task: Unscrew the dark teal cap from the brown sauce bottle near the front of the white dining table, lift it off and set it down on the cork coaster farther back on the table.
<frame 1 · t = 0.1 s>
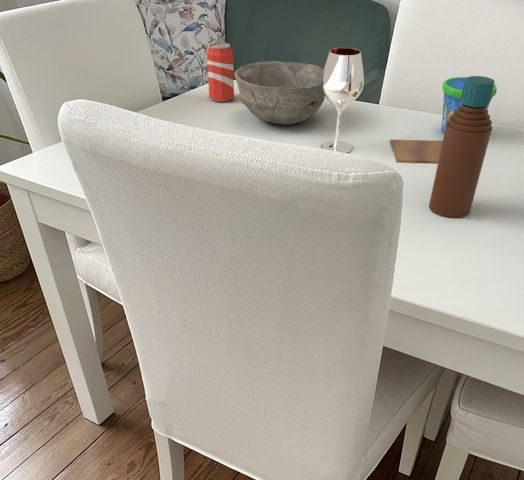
cap: (479, 82, 84), point 20 cm above the table, screwed on, not yet turned
wineglass: (336, 148, 117), on the table
coaster: (420, 151, 116), on the table
bottle: (449, 208, 97), on the table
bowl: (280, 120, 130), on the table
snack cup: (458, 134, 124), on the table
beverage can: (221, 99, 141), on the table
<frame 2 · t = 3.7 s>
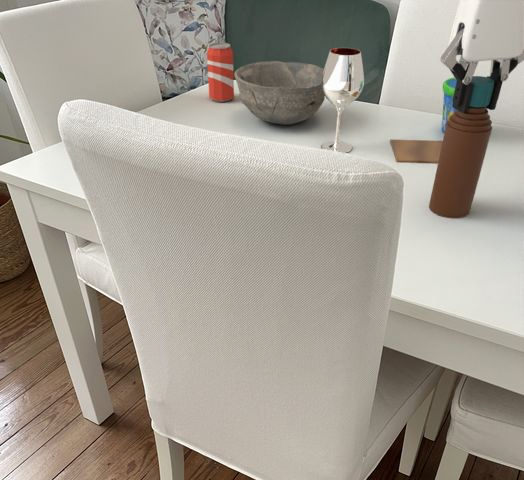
hand: (473, 107, 86), 17 cm above the table, tool pointing down, fingers closed on cap, 4 cm apart
cap: (479, 82, 84), point 20 cm above the table, screwed on, not yet turned, touching gripper
everything else where it was.
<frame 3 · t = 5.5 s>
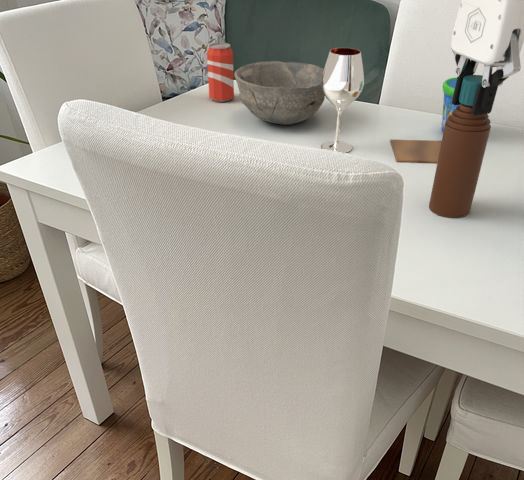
hand: (470, 107, 86), 17 cm above the table, tool pointing down, fingers closed on cap, 4 cm apart
cap: (477, 81, 84), point 20 cm above the table, turned 95° so far, risen 0.1 cm, still on its thread, touching gripper
everything else where it was.
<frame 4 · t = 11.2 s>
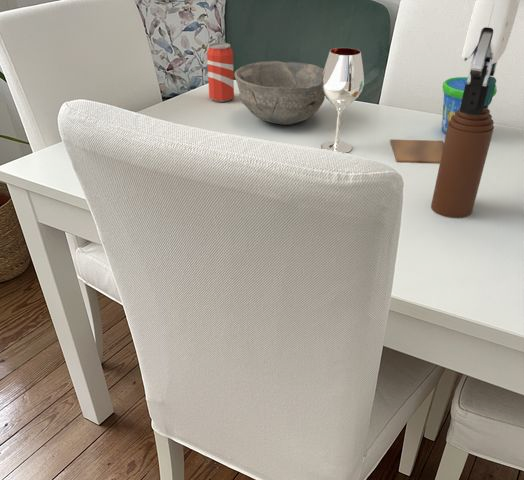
hand: (473, 107, 86), 17 cm above the table, tool pointing down, fingers closed on cap, 4 cm apart
cap: (481, 81, 83), point 20 cm above the table, turned 141° so far, risen 0.1 cm, still on its thread, touching gripper
everything else where it was.
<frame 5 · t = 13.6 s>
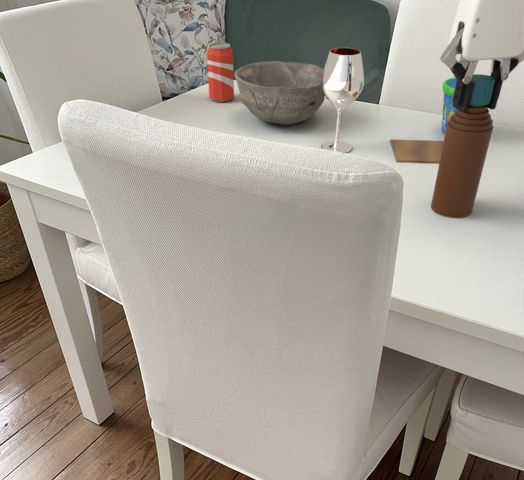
hand: (473, 106, 86), 17 cm above the table, tool pointing down, fingers closed on cap, 4 cm apart
cap: (479, 81, 83), point 20 cm above the table, turned 188° so far, risen 0.2 cm, still on its thread, touching gripper
everything else where it was.
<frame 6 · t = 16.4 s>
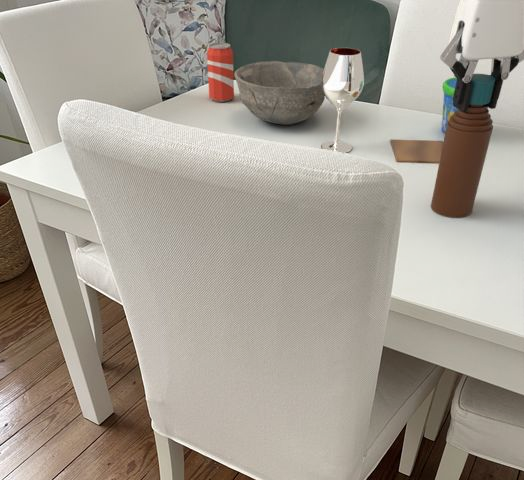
hand: (473, 106, 86), 17 cm above the table, tool pointing down, fingers closed on cap, 4 cm apart
cap: (479, 80, 83), point 20 cm above the table, turned 282° so far, risen 0.3 cm, still on its thread, touching gripper
everything else where it was.
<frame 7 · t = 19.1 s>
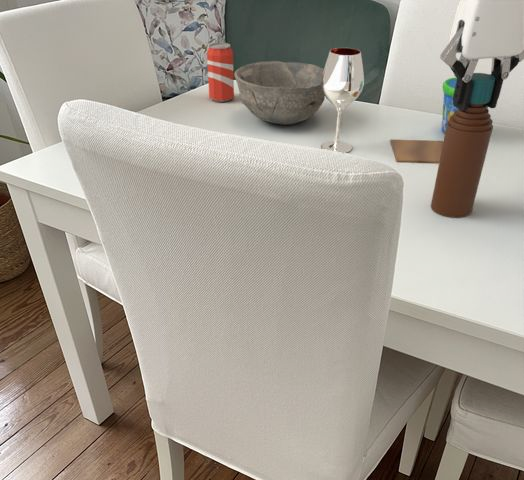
hand: (474, 105, 86), 17 cm above the table, tool pointing down, fingers closed on cap, 4 cm apart
cap: (480, 79, 83), point 21 cm above the table, turned 377° so far, risen 0.4 cm, still on its thread, touching gripper
everything else where it was.
when the fingers open (2 cm above the table, at t = 30.0 s): cap drops 2 cm, resting on coaster.
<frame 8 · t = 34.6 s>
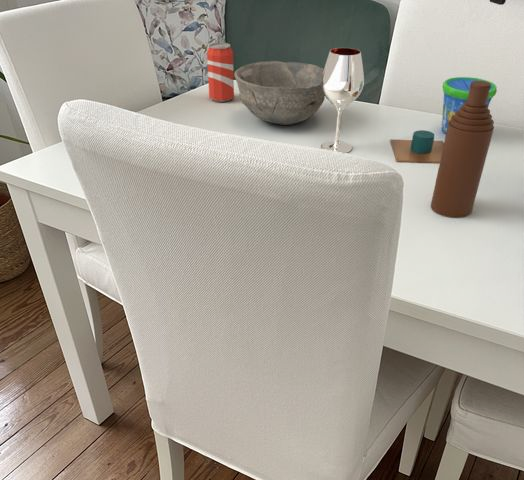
hand: (523, 1, 89), 28 cm above the table, tool pointing down, fingers open, 9 cm apart
cap: (423, 135, 114), point 3 cm above the table, off its thread, touching coaster
everything else where it was.
at the end: cap came off its thread; cap inside the target area on the coaster (0.0 cm from its centre), point 3.2 cm above the coaster's base; the gripper is holding nothing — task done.
